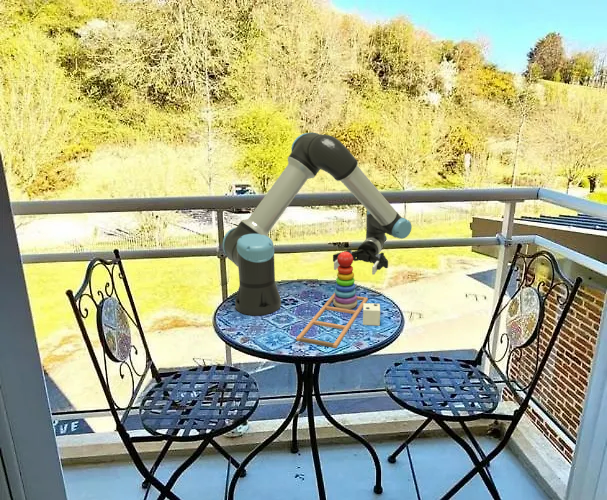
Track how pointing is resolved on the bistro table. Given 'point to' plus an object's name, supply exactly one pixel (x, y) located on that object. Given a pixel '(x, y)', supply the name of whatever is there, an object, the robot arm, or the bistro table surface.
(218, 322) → the bistro table surface
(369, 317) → the die
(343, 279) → the stacking toy
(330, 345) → the ladder
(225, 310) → the bistro table surface
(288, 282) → the bistro table surface
